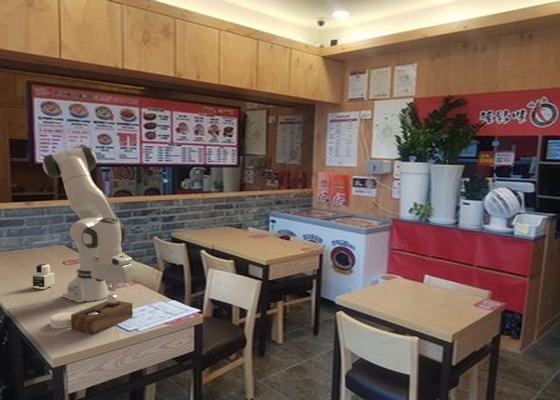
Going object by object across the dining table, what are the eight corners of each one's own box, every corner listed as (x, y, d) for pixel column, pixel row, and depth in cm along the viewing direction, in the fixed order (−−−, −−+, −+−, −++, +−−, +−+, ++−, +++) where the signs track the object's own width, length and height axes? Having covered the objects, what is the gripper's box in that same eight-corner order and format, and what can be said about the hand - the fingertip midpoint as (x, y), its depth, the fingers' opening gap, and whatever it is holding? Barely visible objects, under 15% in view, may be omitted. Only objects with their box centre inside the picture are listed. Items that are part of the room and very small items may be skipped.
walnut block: (71, 329, 161) (71, 314, 161) (111, 312, 180) (110, 299, 179) (94, 334, 156) (93, 319, 156) (132, 317, 175) (132, 303, 174)
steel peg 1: (86, 326, 162) (85, 313, 162) (93, 323, 166) (93, 310, 165) (92, 327, 161) (92, 315, 161) (100, 324, 164) (99, 312, 164)
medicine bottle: (32, 289, 212) (31, 266, 210) (43, 285, 218) (42, 262, 217) (44, 290, 210) (43, 267, 209) (55, 286, 217) (54, 263, 216)
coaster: (82, 319, 172) (82, 311, 172) (71, 329, 162) (70, 320, 162) (58, 319, 172) (57, 311, 172) (45, 329, 162) (45, 320, 162)
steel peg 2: (105, 307, 171) (105, 296, 171) (112, 305, 174) (112, 293, 174) (112, 309, 170) (112, 297, 169) (119, 306, 173) (118, 294, 173)
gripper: (86, 257, 171) (87, 289, 173) (123, 262, 163) (124, 296, 164) (98, 254, 177) (99, 285, 178) (135, 258, 169) (136, 291, 170)
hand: (111, 290), depth 171 cm, fingers closed
